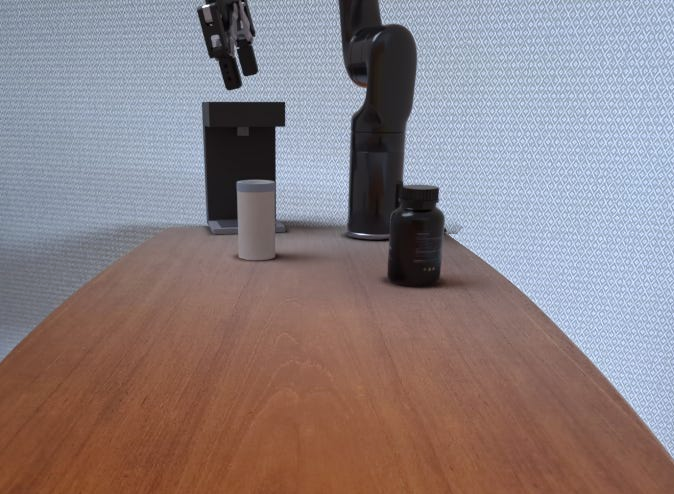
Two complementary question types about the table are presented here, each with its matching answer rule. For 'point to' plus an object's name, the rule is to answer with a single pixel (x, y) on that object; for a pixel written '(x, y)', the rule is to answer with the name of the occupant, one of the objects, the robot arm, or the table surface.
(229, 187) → the coffee maker
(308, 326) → the table surface
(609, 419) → the table surface
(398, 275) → the supplement bottle
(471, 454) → the table surface
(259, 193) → the container
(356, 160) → the robot arm
